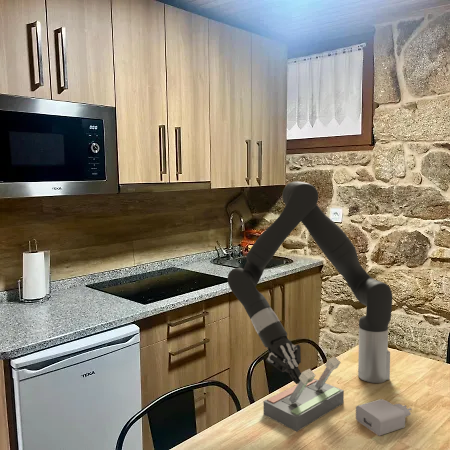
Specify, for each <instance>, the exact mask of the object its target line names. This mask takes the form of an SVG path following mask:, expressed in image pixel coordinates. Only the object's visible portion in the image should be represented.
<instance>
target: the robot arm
mask: <svg viewBox="0 0 450 450" xmlns="http://www.w3.org/2000/svg"><path fill="white" fill-rule="evenodd" d="M282 202H283V203H284V205H285V206H284V209H283V210H282V212H281V213H280V214H279V216H278V217H277V218H276V220H274V222H273V223H271V225H269V226H268V227H267V228H266V229H265V230H264V231H263V232H262V233H261V234H260V235H259V236H258V238H257V239H256V240H255V241H254V244H252V246H251V247H250V249H249V250H248V252H247V253H246V255H245V258H246V262H245V265H244V267H243V268H242V267H235V268H232V269H231V270H230V271H229V273H228V275H227V284H228V286H229V288H230V290H231V292H232V293H233V294H234V296H235V297H236V299H237V300H238V301H239V302H240V303H241V305H242V306H243V308H244V310H245V312H246V314H247V316H248V318H249V320H251V324H252V325H253V327H254V330H255V332H256V333H257V335H258V337H259V339H260V341H261V343H262V344H263V346H264V347H265V348H267V351H268V352H267V353H269V354H268V357H267V358H266V360H265V362H267V363H268V364H269V365H270V366H272V367H274V368H276V369H277V370H278V371H280V372H281V373H284V372H286V373H288V374H289V376H290V378H291V379H292V382H293V383H294V384H295V385H297V384H298V383H299V382H300V379H299V377H300V375H301V373H302V372H301V370H300V369H299V365H300V364H301V363H302V359H301V358H302V355H301V352H302V351H301V345H300V344H297V345H296V344H295V345H294V344H293V343H292V341H291V340H290V339H288V332H287V331H286V329H285V327H284V325H283V324H282V322H281V321H280V318H279V317H278V315H277V313H276V312H275V311H274V309H272V307H271V305H270V303H269V301H268V300H267V298H266V297H265V296H264V294H263V293H262V292H260V291H259V289H257V285H258V283H259V281H260V280H261V277H262V276H263V273H264V271H265V268H266V266H268V264H269V263H270V261H272V259H273V257H274V256H275V255H276V253H277V252H278V250H279V248H280V247H281V246H282V244H283V243H284V242H285V241H286V239H287V238H288V237H289V236H290V234H291V233H292V232H293V231H294V230H295V228H296V227H297V226H298V225H299V224H300V223H302V225H303V226H304V227H305V228H306V230H307V231H308V233H309V234H310V236H311V238H312V239H313V240H314V243H316V245H317V247H318V248H319V249H320V250H321V252H322V253H323V255H324V256H325V257H326V259H327V260H328V261H329V262H330V263H331V264H332V266H333V267H334V268H335V269H336V271H337V272H338V273H339V274H340V275H341V276H342V278H343V279H344V280H345V281H346V283H347V285H348V287H349V289H350V290H351V292H352V293H353V296H354V297H355V299H356V300H357V301H358V302H359V303H360V304H362V305H364V306H366V311H365V315H362V316H361V317H360V318H359V320H358V359H357V360H358V365H357V366H358V368H357V369H358V370H357V375H358V378H360V380H362V381H364V382H367V383H371V384H382V383H385V382H386V381H387V380H390V379H391V376H390V375H391V351H390V350H388V349H389V347H388V345H389V325H390V322H391V319H392V308H393V292H392V290H391V289H392V288H391V287H390V285H388V284H387V283H385V282H383V281H380V280H377V279H375V278H373V277H371V276H370V275H369V273H368V272H367V271H366V270H365V269H364V268H363V266H362V265H361V263H360V260H359V257H358V253H357V249H356V247H355V245H354V243H353V242H352V241H351V240H350V237H348V235H347V234H346V233H345V232H344V230H343V229H341V227H340V226H339V225H338V224H337V223H335V222H334V220H332V219H331V218H329V216H328V215H326V214H325V213H324V212H323V210H322V209H321V208H320V207H319V205H318V202H319V192H318V189H317V188H316V187H315V186H314V185H313V184H311V183H308V182H304V181H291V182H289V183H287V184H286V185H285V187H283V190H282Z"/></svg>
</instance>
